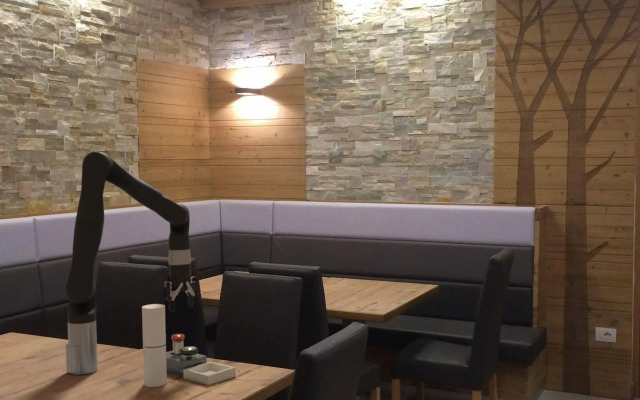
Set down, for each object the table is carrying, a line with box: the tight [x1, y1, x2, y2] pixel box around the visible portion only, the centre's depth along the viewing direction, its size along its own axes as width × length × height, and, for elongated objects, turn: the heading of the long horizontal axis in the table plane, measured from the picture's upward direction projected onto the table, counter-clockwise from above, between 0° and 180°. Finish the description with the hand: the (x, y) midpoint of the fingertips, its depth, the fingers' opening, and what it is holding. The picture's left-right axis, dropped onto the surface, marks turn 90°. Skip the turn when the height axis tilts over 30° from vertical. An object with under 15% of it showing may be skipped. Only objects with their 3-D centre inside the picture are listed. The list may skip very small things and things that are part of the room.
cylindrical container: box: [141, 303, 168, 388], centre depth 235 cm, size 7×7×25 cm
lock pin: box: [171, 333, 185, 356], centre depth 254 cm, size 4×4×11 cm
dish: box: [183, 361, 237, 386], centre depth 242 cm, size 12×12×3 cm
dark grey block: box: [166, 346, 208, 378], centre depth 251 cm, size 10×15×8 cm, turn 50°
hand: (181, 309), depth 253 cm, fingers open, 8 cm apart
